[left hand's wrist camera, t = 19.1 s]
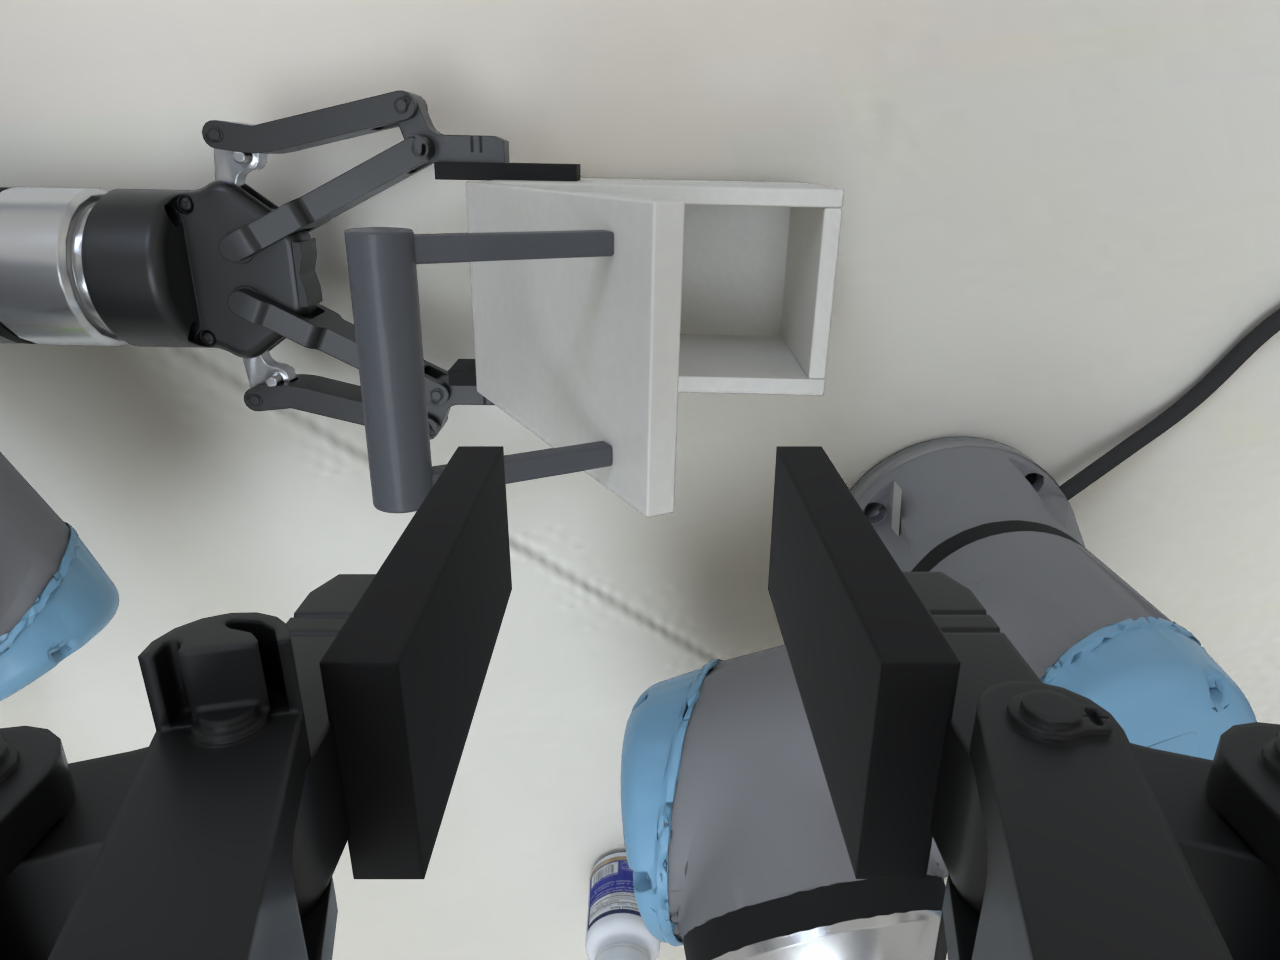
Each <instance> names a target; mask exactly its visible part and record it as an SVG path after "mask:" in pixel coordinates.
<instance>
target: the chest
mask: <svg viewBox="0 0 1280 960" xmlns="http://www.w3.org/2000/svg"><path fill="white" fill-rule="evenodd" d="M482 182H493V183H503V184H513V185H524V186H534V187H545V188H555V189H565V190H576V191H586V192H596V193H607V194H617V195H628V196H638V197H648V198H659V199H669V200H679V201H683V202H684V203H685V215H684V243H683V271H682V299H681V326H680V354H679V382H678V392H697V393H737V394H777V395H817V396H822V395H824V386H825V379H824V378H825V375H826V365H827V355H828V345H829V335H830V325H831V315H832V305H833V296H834V286H835V276H836V266H837V256H838V246H839V236H840V227H841V217H842V209H841V208H842V206H843V197H844V189H841V188H834V187H828V186H822V185H816V184H810V183H804V182H759V181H709V180H660V179H610V178H580V180H579V181H577V182H575V181H524V180H490V181H482Z"/></svg>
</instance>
